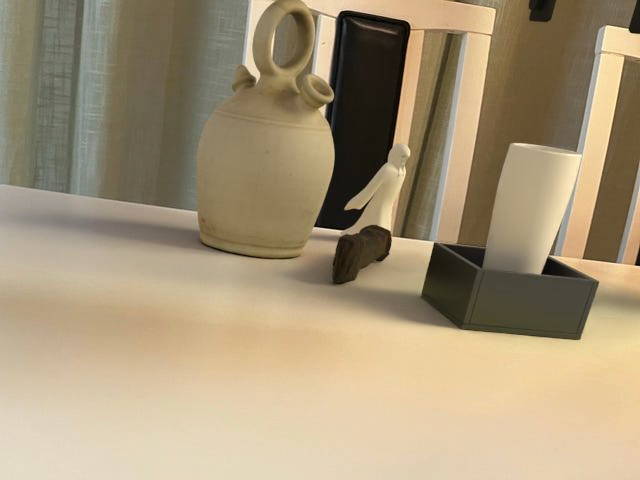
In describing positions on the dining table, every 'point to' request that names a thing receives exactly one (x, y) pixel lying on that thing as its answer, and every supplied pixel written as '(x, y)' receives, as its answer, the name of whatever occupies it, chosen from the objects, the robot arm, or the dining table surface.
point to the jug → (267, 150)
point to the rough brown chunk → (360, 251)
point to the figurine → (381, 192)
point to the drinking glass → (529, 206)
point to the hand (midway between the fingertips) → (589, 27)
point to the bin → (507, 294)
